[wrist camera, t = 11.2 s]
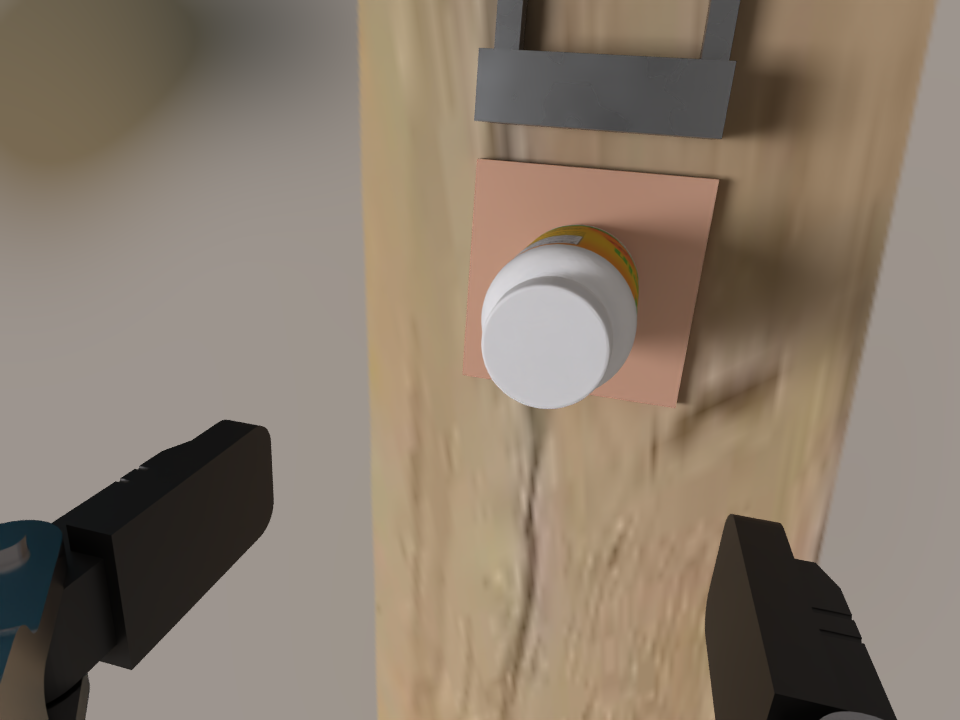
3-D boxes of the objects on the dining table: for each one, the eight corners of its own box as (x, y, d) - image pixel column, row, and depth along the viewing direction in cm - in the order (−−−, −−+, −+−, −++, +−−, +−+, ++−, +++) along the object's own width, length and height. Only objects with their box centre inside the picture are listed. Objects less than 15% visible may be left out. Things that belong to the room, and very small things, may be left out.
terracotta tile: (480, 158, 28) (477, 158, 28) (717, 178, 26) (719, 179, 26) (465, 370, 32) (462, 374, 31) (674, 403, 30) (675, 408, 29)
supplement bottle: (650, 330, 28) (652, 417, 19) (532, 352, 30) (483, 442, 21) (625, 208, 27) (615, 241, 18) (503, 238, 28) (438, 283, 20)
